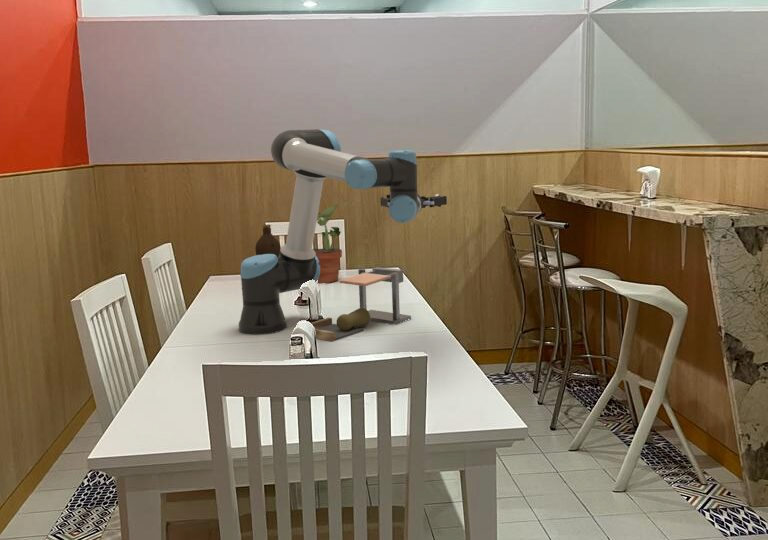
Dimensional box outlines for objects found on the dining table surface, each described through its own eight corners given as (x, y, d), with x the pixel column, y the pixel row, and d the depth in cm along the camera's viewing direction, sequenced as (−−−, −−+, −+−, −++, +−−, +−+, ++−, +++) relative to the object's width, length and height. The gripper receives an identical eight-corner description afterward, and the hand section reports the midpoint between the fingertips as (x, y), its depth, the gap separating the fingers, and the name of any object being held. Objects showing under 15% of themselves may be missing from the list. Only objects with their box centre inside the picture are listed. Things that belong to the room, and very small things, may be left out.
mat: (305, 334, 231) (305, 332, 231) (333, 325, 241) (333, 323, 241) (336, 340, 223) (336, 338, 223) (364, 330, 233) (364, 328, 233)
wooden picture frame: (297, 334, 231) (296, 326, 230) (328, 324, 242) (328, 317, 241) (332, 341, 221) (331, 333, 221) (363, 330, 233) (363, 323, 232)
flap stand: (371, 313, 256) (369, 266, 254) (411, 319, 246) (409, 270, 243) (354, 318, 250) (352, 270, 247) (394, 324, 239) (392, 274, 236)
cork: (356, 326, 240) (335, 333, 232) (354, 308, 240) (332, 314, 231) (371, 325, 237) (349, 332, 228) (368, 307, 236) (347, 313, 228)
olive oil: (287, 281, 320) (284, 223, 316) (272, 286, 311) (269, 226, 307) (267, 280, 325) (264, 223, 321) (252, 284, 316) (248, 226, 312)
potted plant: (351, 279, 321) (348, 198, 315) (330, 285, 309) (326, 201, 303) (322, 276, 330) (318, 197, 324) (301, 282, 317) (296, 200, 311)
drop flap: (376, 278, 253) (376, 267, 252) (404, 281, 246) (403, 269, 245) (339, 290, 238) (338, 278, 238) (367, 294, 231) (366, 281, 230)
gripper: (366, 218, 216) (377, 211, 237) (452, 217, 213) (456, 210, 233) (365, 192, 215) (376, 187, 236) (451, 190, 211) (455, 186, 232)
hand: (416, 198), depth 235 cm, fingers open, 13 cm apart
